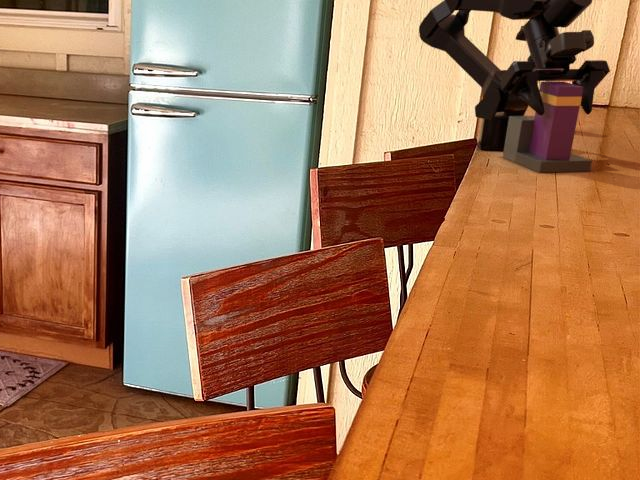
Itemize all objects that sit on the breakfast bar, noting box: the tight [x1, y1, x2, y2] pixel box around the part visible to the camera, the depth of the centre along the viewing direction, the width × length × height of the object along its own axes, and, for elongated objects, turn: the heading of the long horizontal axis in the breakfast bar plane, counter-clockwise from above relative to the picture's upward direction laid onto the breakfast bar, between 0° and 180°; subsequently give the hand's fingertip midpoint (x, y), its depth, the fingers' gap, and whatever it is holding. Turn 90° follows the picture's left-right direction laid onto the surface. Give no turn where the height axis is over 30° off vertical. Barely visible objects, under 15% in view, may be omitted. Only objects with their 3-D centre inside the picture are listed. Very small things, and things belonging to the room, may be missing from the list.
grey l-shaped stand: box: [502, 115, 593, 174], centre depth 168 cm, size 14×10×8 cm
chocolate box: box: [529, 81, 583, 160], centre depth 164 cm, size 5×8×13 cm, turn 3°
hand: (565, 113), depth 162 cm, fingers open, 9 cm apart
